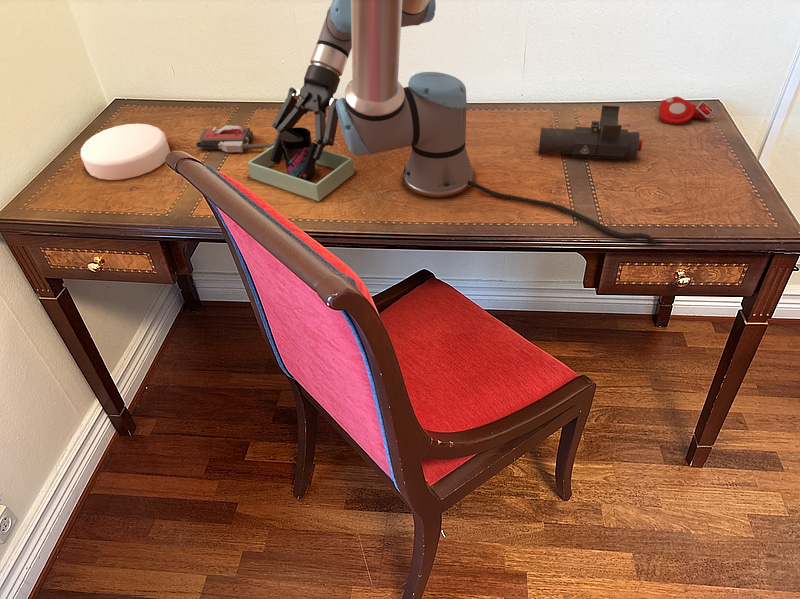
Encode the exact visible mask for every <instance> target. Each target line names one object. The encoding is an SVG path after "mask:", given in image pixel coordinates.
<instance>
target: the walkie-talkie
mask: <svg viewBox="0 0 800 599" xmlns="http://www.w3.org/2000/svg"><path fill="white" fill-rule="evenodd" d="M253 139H254V132H253V131H252V130H251V128H250V127H243V126H242V125H240V124H235V125H233V124H231V125H230V124H229V125H228V124H227V125H224V126H223V127H217V126H214V127H212V128H211V127H210V128H204V129H203V130H202V133H200V136H199V141H198V142H196V143H195V145H196V147H197V148H202V149H203V150H204V151H206V150H207V151H209V150H214V151H215V150H220V151H223V152H225V153H243V152H244V151H246V150H262V149H264V148H266V149H269V148H270V147H272V146H273V144H274V143H272V144H271V143H267V144H266V143H265V144H263V143H262V144H258V143H257V144H250V141H251V140H253Z"/></svg>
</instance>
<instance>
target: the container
mask: <svg viewBox="0 0 800 599" xmlns="http://www.w3.org/2000/svg"><path fill="white" fill-rule="evenodd" d="M168 153H170V154H171V150H170V145H169V143H168V139H167V137H166V133H165V132H164V131H163V130H162V129H160V127H157V126H154V125H151V124H147V123H127V124H121V125H116V126H113V127H110V128H107V129H104V130H102V131H99V132H98V133H96V134H93V135H92V136H91V137H90V138H88V139H87V140H86V141H85V142H84V143H83V145H82V146H81V149H80V158H81V160H82V163H83V165H84V168H85V169H86V171H87V172H88V173H89V175H90V176H92V177H94V178H97V179H99V180H108V181H117V180H118V181H119V180H127V179H131V178H136V177H140V176H142V175H145V174H148V173H150V172H152V171H153V170H155V169H157V168H159V167H160V166H161V165H163V164H164V163H165V162H166V161H165V157H166V155H167V154H168Z"/></svg>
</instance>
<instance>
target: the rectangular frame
mask: <svg viewBox="0 0 800 599" xmlns="http://www.w3.org/2000/svg"><path fill="white" fill-rule="evenodd" d="M274 147H275V146H272V147H270V148H266V150H264V151H262V152H261V153H259V154H257V156H255V157H253V158H252V159H250V160H249V161H247V162H246V164H247V169H248V173H249V177H250V179H252V180H256V181H258V182H261V183H264V184H267V185H270V186H273V187H276V188H279V189H282V190H285V191H287V192H290V193H294V194H295V195H299V196H302V197H305V198H307V199H311V200H314V201H317V202H320V201H321V200H323V198H325V197H326V196H328V195H330V193H332V192H333V191H334V190H335V189H336V188H338V187H339V186H341V184H343V183H344V182H346V180H348V179H349V178H350V177H352V176H353V175H354V174H355V166H354V158H353V157H351V156H346V155H344V154H340V153H337V152H334V151H330V150H327V149H323V151H322V154H321V157H320V159H319V160H316V163H315V164H318V165H321V166H324V167H328V168H331V169H334V170H332V171H331V172H329V173H328V174H327V175H326V176H324V177H323V178H322V179H320V180H319V181H318V182H316V183H314V182H311V181H310V180H309V181H306V180H303V179H300V178H297V177H294V176H291V175H288V174H287V173H285V172H282V171H278V170H276V169H272V168H270V167H272V166H273V165H274V164H276V163H275V162H273V161H271V160H270V158H271V155H272V152H273V150H274ZM282 159H284V154H283V156H282Z"/></svg>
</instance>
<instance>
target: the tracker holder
mask: <svg viewBox="0 0 800 599" xmlns="http://www.w3.org/2000/svg"><path fill="white" fill-rule="evenodd" d="M714 111H715V110H714V109H713V108H712V107H711V106H710V105H708V104H707V103H706V102H705V101H704V100H702V101H701V102H699V103H698V104H693V103H691V102H690V101H688V100H686V99H684V98H682V97H680V96H673V97H670V98H666V99H662V100H661V101H660V105H659V109H658V117H659V119H660V120H661V121H662V122H663V123H665V124H669V125H676V126H677V125H682V124H683V125H684V124H685V123H687V122H689V121H690V120H691V119H699V120H705V119H708V118H709V117H710V116H711V115H712V114H713V113H714Z"/></svg>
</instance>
